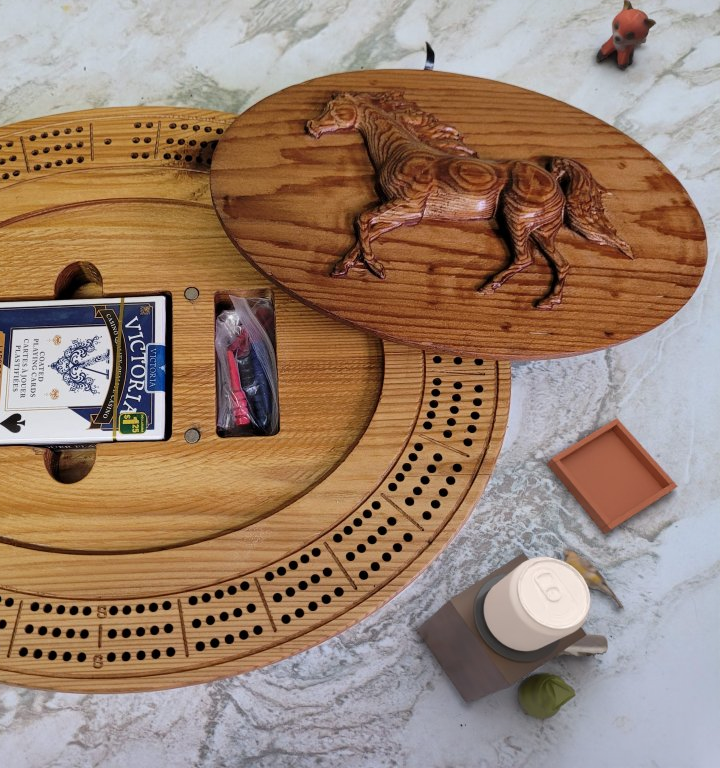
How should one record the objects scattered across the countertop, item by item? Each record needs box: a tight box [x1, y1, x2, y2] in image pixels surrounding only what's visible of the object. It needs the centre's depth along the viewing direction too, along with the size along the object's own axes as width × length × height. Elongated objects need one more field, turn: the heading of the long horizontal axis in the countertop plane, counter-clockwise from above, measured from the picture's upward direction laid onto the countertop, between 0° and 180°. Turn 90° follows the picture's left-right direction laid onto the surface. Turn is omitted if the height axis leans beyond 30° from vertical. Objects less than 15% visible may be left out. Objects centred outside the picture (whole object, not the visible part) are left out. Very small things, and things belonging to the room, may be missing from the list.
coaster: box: [473, 573, 561, 662], centre depth 94 cm, size 10×10×1 cm
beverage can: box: [484, 556, 591, 651], centre depth 89 cm, size 8×8×12 cm
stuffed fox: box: [595, 0, 657, 70], centre depth 154 cm, size 8×11×12 cm
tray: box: [546, 417, 678, 535], centre depth 121 cm, size 13×13×2 cm
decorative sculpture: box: [555, 548, 625, 658], centre depth 110 cm, size 16×10×7 cm, turn 153°
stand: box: [416, 552, 588, 704], centre depth 103 cm, size 11×11×20 cm
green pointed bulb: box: [517, 672, 576, 720], centre depth 105 cm, size 6×5×10 cm
